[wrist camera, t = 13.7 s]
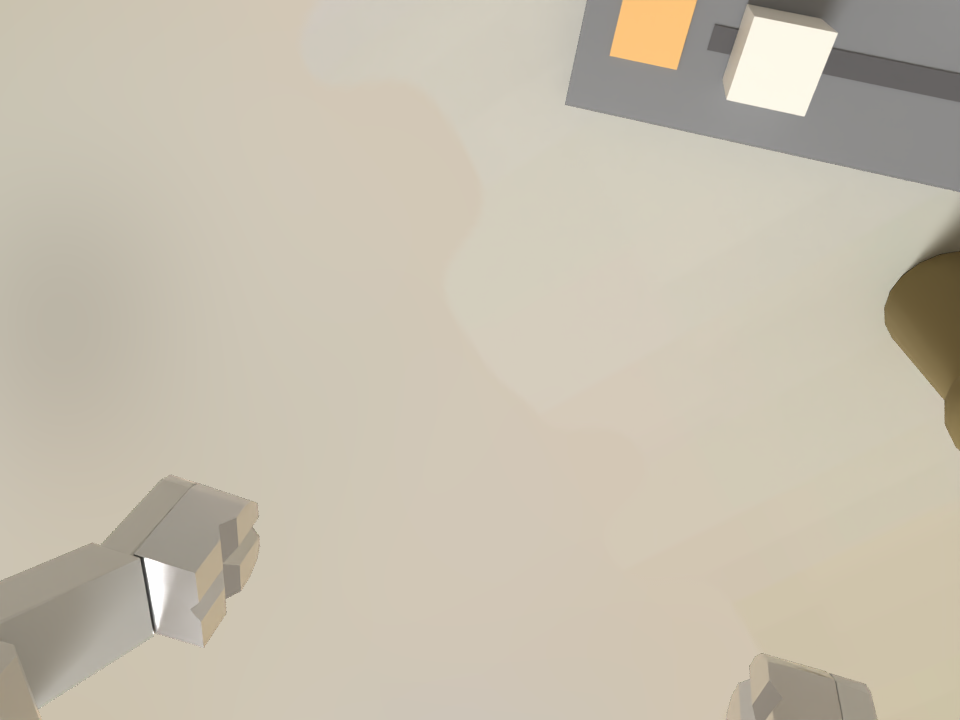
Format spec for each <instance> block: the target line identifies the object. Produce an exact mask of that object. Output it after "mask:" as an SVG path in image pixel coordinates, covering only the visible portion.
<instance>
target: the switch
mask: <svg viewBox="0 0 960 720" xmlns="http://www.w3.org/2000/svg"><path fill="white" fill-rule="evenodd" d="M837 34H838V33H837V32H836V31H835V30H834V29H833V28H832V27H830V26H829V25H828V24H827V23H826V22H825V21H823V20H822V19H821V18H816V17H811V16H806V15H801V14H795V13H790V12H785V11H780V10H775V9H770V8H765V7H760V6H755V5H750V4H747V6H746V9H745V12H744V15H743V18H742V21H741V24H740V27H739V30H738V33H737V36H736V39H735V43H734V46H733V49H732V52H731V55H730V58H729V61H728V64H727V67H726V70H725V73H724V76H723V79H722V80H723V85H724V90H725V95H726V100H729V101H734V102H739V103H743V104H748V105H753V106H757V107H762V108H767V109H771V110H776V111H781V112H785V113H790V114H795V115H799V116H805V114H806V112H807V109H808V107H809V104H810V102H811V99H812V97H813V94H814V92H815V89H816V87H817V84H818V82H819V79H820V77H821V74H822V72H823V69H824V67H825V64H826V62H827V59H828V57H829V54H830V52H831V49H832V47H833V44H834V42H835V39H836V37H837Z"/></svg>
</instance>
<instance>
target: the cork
mask: <svg viewBox="0 0 960 720" xmlns="http://www.w3.org/2000/svg"><path fill="white" fill-rule="evenodd" d="M884 311H885V325H886V327H887V329H888V331H889V333H890V335H891V337H892V338H893V340H894V341H895V342H896V343H897V344H898V346H899V347H900V348H901V349H902V350H903V351H904V353H905V354H906V355H907V356H908V357H909V359H910V360H911V361H912V362H913V363H914V365H915V366H916V367H917V368H918V369H919V371H920V372H921V373H922V374H923V375H924V376H925V378H926V379H927V380H928V381H929V382H930V384H931V385H932V386H933V387H934V388H935V390H936V391H937V392H938V393H939V394H940V396H941V397H942V398H943V399H944V400H945V425H946V428H947V430H948V432H949V434H950V436H951V438H952V440H953V442H954V444H955V446H956V448H958V449H959V450H960V251H958V252H952V253H946V254H940V255H938V256H935V257H933V258H931V259H928V260H926V261H923V262H921V263H919V264H918V265H916V266H915V267H914V268H912V269H911V270H910V271H908V272H907V273H906V274H904V275H903V276H902V277H901V278H900V279H899V281H898V282H897V283H896V285H895V286H894V287H893V288H892V290H891V291H890V293H889V296H888V299H887V302H886V305H885V307H884Z"/></svg>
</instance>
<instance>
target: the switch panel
mask: <svg viewBox="0 0 960 720" xmlns="http://www.w3.org/2000/svg"><path fill="white" fill-rule="evenodd" d="M747 4H750V5H755V6H760V7H765V8H770V9H775V10H780V11H785V12H790V13H795V14H801V15H806V16H811V17H816V18H821V19H822V20H823V21H825V22H826V23H827V24H828V25H829V26H830V27H832V28H833V29H834V30H835V31H836V32H837V33H838V34H837V37H836V39H835V42H834V44H833V47H832V49H831V52H830V54H829V57H828V59H827V62H826V64H825V67H824V69H823V72H822V74H821V77H820V79H819V82H818V84H817V87H816V89H815V92H814V94H813V97H812V99H811V102H810V104H809V107H808V109H807V112H806V114H805V116H799V115H795V114H790V113H785V112H781V111H776V110H771V109H767V108H762V107H757V106H753V105H748V104H743V103H739V102H734V101H729V100H726V95H725V90H724V85H723V80H722V79H723V76H724V73H725V70H726V67H727V64H728V61H729V58H730V55H731V52H732V49H733V46H734V43H735V39H736V36H737V33H738V30H739V27H740V24H741V21H742V18H743V15H744V12H745V9H746V6H747ZM565 105H568V106H573V107H577V108H582V109H586V110H591V111H595V112H600V113H604V114H609V115H614V116H618V117H623V118H627V119H632V120H636V121H641V122H645V123H650V124H654V125H659V126H663V127H668V128H672V129H677V130H681V131H686V132H690V133H695V134H699V135H704V136H708V137H713V138H718V139H722V140H727V141H731V142H736V143H740V144H745V145H749V146H754V147H758V148H763V149H767V150H772V151H776V152H781V153H785V154H790V155H794V156H799V157H803V158H808V159H812V160H817V161H822V162H826V163H831V164H835V165H840V166H844V167H849V168H853V169H858V170H862V171H867V172H871V173H876V174H880V175H885V176H889V177H894V178H898V179H903V180H907V181H912V182H917V183H921V184H926V185H930V186H935V187H939V188H944V189H948V190H953V191H957V192H960V0H587V3H586V8H585V12H584V17H583V22H582V27H581V31H580V36H579V41H578V45H577V50H576V55H575V59H574V64H573V69H572V73H571V78H570V83H569V88H568V92H567V97H566V102H565Z"/></svg>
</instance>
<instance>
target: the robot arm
mask: <svg viewBox="0 0 960 720" xmlns="http://www.w3.org/2000/svg"><path fill="white" fill-rule="evenodd" d="M258 517H259V516H258V505H257V503H256V502H253V501H250V500H247V499H245V498H242V497H239V496H235V495H233V494H230V493H227V492H223V491H221V490H218V489H214V488H211V487H208V486H205V485H202V484H199V483H196V482H193V481H190V480H186V479H183V478H180V477H177V476H174V475H169V476H167V477H165V478H164V479H162V480H160V481H159V482H158V483H157V484H156V486H155V487H154V488H153V489H152V490H151V491H150V492H149V493H148V494H147V495H146V496H145V497H144V498H143V500H142V501H141V502H140V503H139V504H138V505H137V506H136V507H135V508H134V509H133V510H132V512H131V513H130V514H129V515H128V516H127V517H126V518H125V519H124V520H123V521H122V522H121V523H120V525H119V526H118V527H117V528H116V529H115V530H114V531H113V532H112V533H111V534H110V536H108V537H107V538H106V540H105V541H104V542H103V543H102V544H101V545H99V544H95V543H90V544H88V545H85V546H83V547H80V548H78V549H76V550H73V551H71V552H68V553H66V554H64V555H61V556H59V557H57V558H54V559H52V560H49V561H47V562H44V563H42V564H40V565H37V566H35V567H32V568H30V569H28V570H25V571H23V572H20V573H18V574H16V575H13V576H11V577H8V578H6V579H4V580H1V581H0V720H42V719H41V716H40V714H39V711H38V709H40V708H41V707H43V706H44V705H46V704H48V703H49V702H51V701H52V700H54V699H55V698H57V697H59V696H60V695H62V694H63V693H65V692H66V691H68V690H70V689H71V688H73V687H74V686H76V685H78V684H79V683H81V682H82V681H84V680H85V679H87V678H89V677H90V676H92V675H93V674H95V673H97V672H98V671H99V670H101V669H103V668H104V667H106V666H108V665H109V664H111V663H112V662H114V661H115V660H117V659H119V658H120V657H122V656H123V655H125V654H127V653H128V652H130V651H131V650H133V649H134V648H136V647H138V646H139V645H141V644H142V643H144V642H146V641H147V640H149V639H150V638H152V637H153V636H154V633H156V634H159V635H163V636H166V637H169V638H173V639H176V640H180V641H183V642H186V643H189V644H193V645H196V646H200V647H205V645H206V644H207V642H208V641H209V639H210V638H211V636H212V634H213V633H214V631H215V630H216V628H217V627H218V625H219V624H220V622H221V621H222V619H223V618H224V616H225V615H226V601H225V599H226V598H228V597H230V596H232V595H234V594H236V593H238V592H240V591H241V590H242V589H243V587H244V585H245V584H246V582H247V581H248V579H249V577H250V575H251V573H252V571H253V568H254V566H255V563H256V561H257V557H258V552H259V546H260V545H259V535H258V534H257V532H256V531H255V529H254V528H253V527H252V526H253V524H254V523H255V522H256V520H257V519H258ZM749 670H750V679H749V680H746V681H743V682H740V683H738V685H737V687H736V689H735V690H734V692H733V694H732V696H731V699H730V703H729V707H728V711H727V718H726V720H878V719H877V715H876V711H875V707H874V703H873V699H872V694H871V691H870V690H869V688H868V687H867V685H866V684H864V683H861V682H857V681H854V680H851V679H847V678H844V677H841V676H837V675H834V674H830V673H827V672H826V671H823V670H819V669H816V668H813V667H809V666H806V665H802V664H799V663H795V662H792V661H788V660H785V659H781V658H778V657H774V656H771V655H767V654H764V653H761V654H759V655H757V656H756V657H755V658H754V659H753V661H752V663H751V664H750V666H749Z"/></svg>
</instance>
